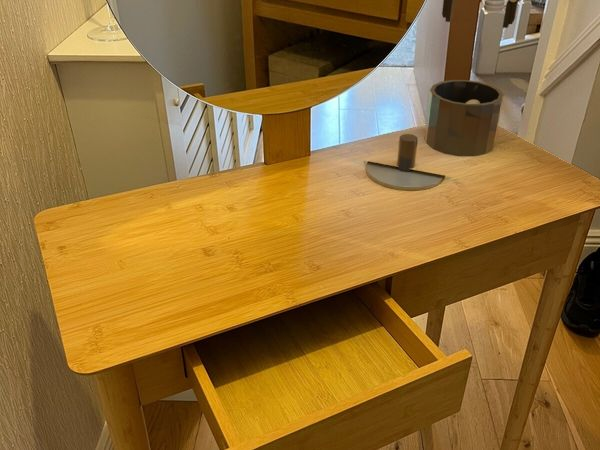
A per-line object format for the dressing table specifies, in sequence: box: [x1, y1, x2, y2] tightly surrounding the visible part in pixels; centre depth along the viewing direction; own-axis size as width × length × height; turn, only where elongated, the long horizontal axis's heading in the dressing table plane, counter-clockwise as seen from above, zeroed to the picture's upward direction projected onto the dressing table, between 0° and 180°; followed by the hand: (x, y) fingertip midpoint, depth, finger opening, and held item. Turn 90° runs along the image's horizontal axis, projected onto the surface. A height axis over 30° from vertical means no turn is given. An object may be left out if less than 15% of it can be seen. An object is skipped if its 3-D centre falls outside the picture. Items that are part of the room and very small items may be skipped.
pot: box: [423, 79, 504, 157], centre depth 103 cm, size 11×11×10 cm
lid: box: [365, 133, 446, 192], centre depth 97 cm, size 12×12×6 cm
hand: (477, 23), depth 95 cm, fingers open, 8 cm apart
